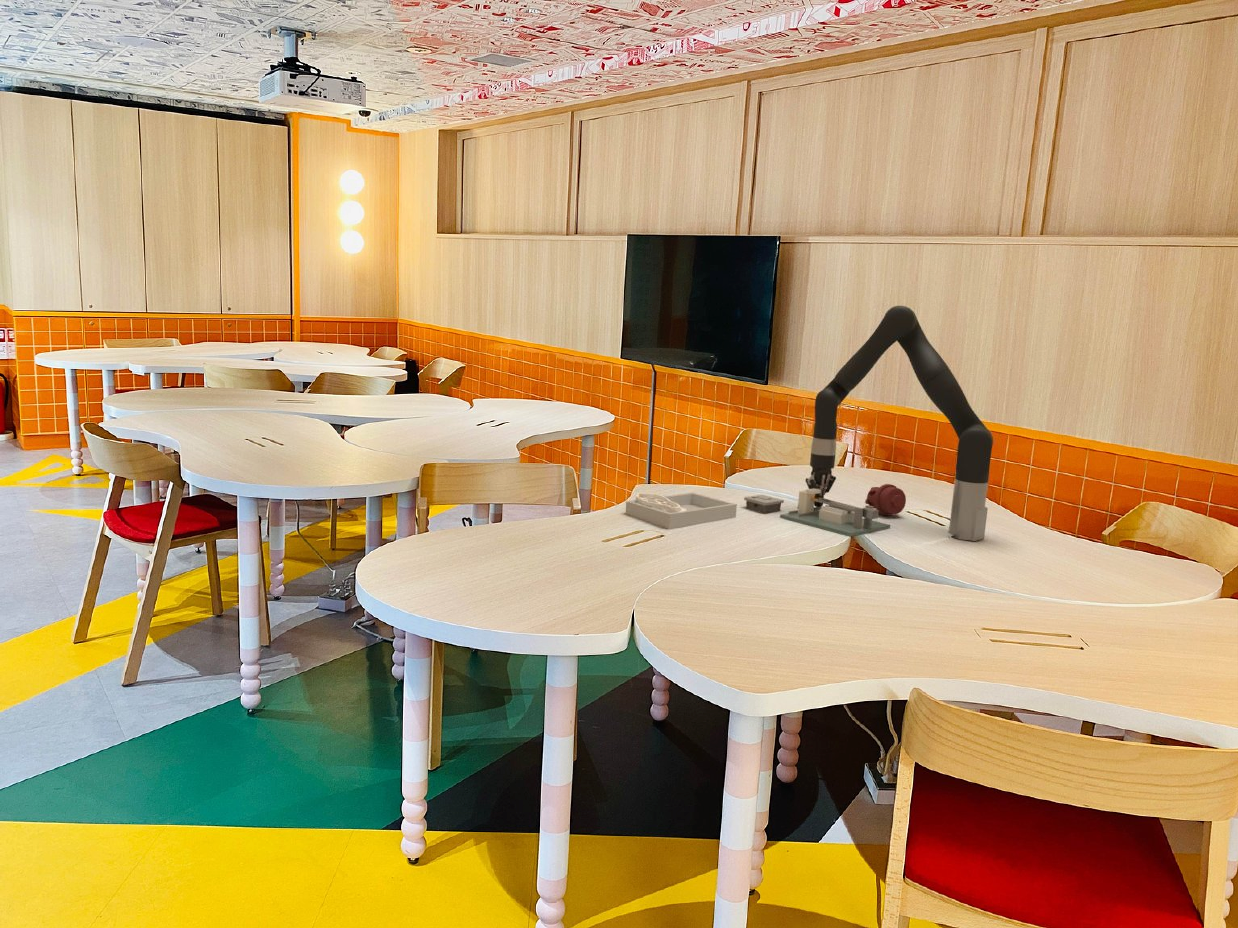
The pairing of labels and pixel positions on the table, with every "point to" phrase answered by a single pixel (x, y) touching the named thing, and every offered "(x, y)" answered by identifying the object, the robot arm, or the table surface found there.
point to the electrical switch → (763, 503)
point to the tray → (696, 511)
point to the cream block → (806, 500)
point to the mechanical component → (886, 499)
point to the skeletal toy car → (659, 503)
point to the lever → (849, 507)
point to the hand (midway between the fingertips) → (818, 506)
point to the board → (835, 526)
